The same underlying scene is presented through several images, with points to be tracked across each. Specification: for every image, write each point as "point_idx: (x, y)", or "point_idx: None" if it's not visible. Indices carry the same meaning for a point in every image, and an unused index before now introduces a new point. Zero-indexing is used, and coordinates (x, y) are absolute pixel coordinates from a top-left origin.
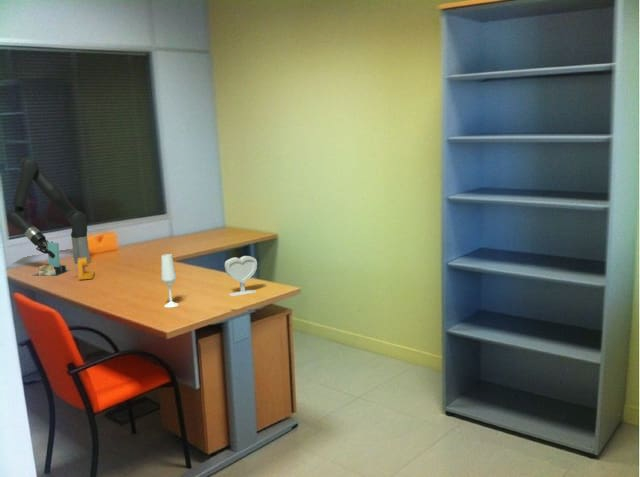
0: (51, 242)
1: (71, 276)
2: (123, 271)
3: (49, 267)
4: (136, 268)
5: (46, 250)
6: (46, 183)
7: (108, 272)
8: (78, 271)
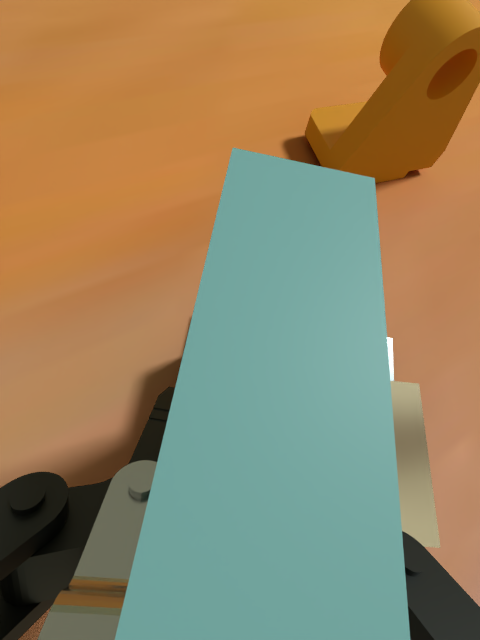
0: (166, 575)
1: None
2: (221, 42)
3: (415, 392)
4: (162, 7)
5: (423, 559)
6: None
7: (236, 94)
8: (458, 123)
